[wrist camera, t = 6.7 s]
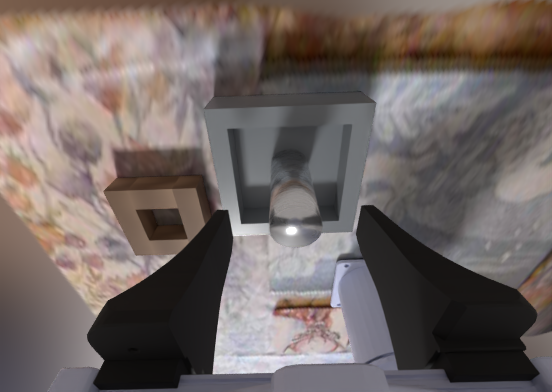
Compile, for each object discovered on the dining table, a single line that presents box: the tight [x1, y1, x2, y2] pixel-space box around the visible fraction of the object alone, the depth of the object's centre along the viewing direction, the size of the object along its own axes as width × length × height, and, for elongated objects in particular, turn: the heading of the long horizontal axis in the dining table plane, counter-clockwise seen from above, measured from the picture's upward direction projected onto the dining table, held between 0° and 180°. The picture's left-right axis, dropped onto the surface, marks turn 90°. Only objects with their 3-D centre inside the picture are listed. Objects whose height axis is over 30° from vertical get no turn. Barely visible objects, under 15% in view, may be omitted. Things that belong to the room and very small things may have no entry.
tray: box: [203, 91, 376, 236], centre depth 19 cm, size 10×10×3 cm
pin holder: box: [103, 175, 212, 256], centre depth 22 cm, size 7×7×2 cm
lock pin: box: [269, 150, 323, 248], centre depth 16 cm, size 3×3×7 cm
